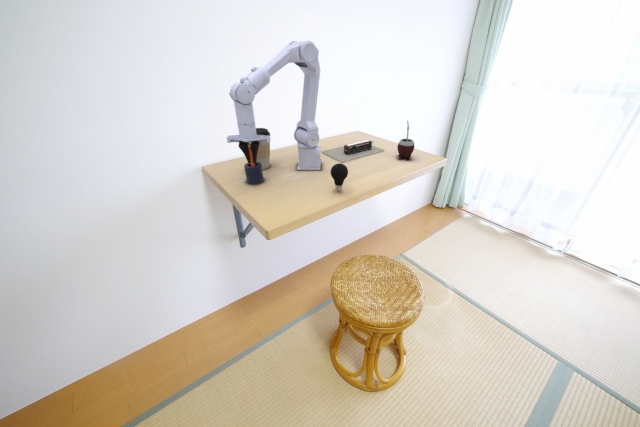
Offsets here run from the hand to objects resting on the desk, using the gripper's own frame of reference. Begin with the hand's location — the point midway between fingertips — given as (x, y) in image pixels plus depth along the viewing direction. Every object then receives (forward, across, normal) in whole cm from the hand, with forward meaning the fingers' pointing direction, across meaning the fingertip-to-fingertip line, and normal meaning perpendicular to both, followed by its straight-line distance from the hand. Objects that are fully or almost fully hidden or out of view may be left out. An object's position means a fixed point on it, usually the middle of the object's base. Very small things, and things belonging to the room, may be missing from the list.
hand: (252, 161), depth 94 cm
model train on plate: (+8, +40, +32) cm, 52 cm away
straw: (+2, 0, 0) cm, 2 cm away
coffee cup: (+8, 0, +14) cm, 16 cm away
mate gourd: (+8, +62, +24) cm, 67 cm away
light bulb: (+8, +31, -8) cm, 33 cm away
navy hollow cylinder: (+8, 0, 0) cm, 8 cm away
